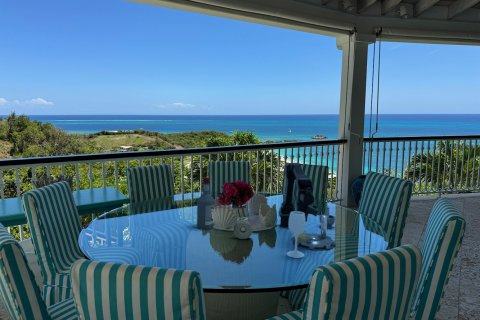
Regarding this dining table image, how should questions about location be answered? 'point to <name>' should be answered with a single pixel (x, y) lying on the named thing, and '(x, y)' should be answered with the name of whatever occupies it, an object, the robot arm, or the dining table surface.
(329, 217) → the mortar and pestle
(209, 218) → the liquor
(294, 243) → the base mat
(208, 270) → the dining table surface
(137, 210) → the dining table surface
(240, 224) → the stone disc
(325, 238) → the sprocket
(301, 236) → the link block
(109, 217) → the dining table surface
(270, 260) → the dining table surface
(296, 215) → the wineglass
